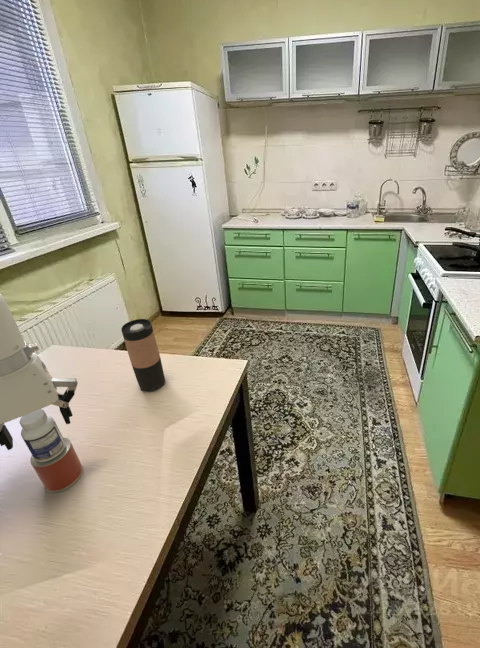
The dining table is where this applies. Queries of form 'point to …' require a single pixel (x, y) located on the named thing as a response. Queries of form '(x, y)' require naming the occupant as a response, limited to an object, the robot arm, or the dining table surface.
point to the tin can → (59, 469)
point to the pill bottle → (41, 435)
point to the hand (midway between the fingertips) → (40, 431)
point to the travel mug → (144, 354)
